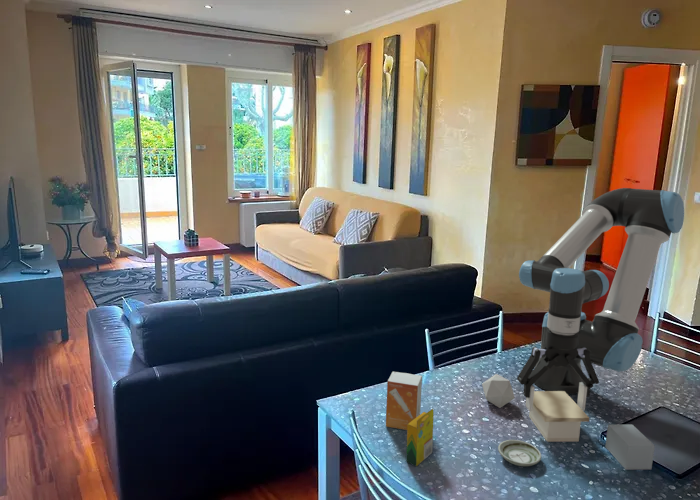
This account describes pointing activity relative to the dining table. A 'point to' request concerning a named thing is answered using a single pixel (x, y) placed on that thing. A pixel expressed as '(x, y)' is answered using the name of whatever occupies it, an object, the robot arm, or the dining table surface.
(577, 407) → the sheet
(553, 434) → the open beige tray
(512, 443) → the saucer
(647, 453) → the grey rectangular block
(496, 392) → the die
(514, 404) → the dining table surface
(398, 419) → the small box
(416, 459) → the crayon box
